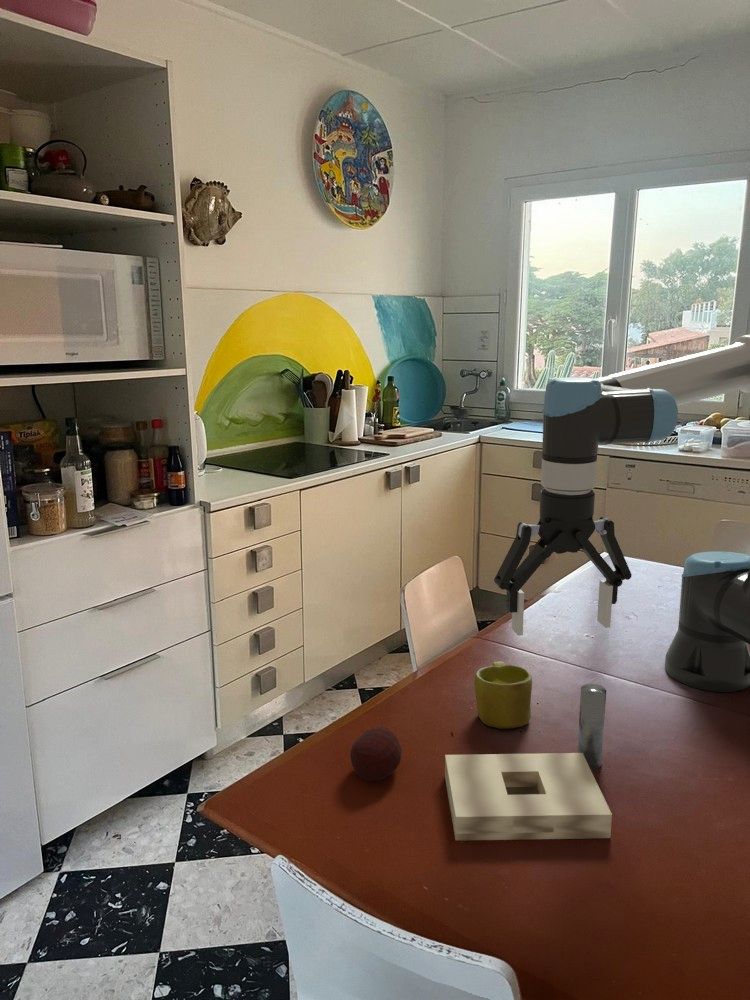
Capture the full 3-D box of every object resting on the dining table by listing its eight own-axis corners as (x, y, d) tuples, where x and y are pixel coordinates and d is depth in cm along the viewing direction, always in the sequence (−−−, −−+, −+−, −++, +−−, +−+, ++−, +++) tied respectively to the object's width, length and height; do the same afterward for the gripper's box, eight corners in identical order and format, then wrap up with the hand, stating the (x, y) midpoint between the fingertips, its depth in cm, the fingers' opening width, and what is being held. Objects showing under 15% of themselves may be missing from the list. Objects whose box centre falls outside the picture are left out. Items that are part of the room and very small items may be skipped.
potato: (341, 785, 111) (340, 747, 109) (366, 748, 120) (365, 712, 118) (389, 795, 108) (388, 757, 107) (410, 757, 117) (411, 720, 116)
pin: (597, 755, 117) (602, 683, 114) (604, 768, 114) (609, 695, 111) (573, 755, 117) (578, 684, 114) (580, 769, 114) (584, 695, 111)
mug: (542, 729, 121) (524, 668, 121) (479, 741, 123) (462, 681, 124) (545, 706, 133) (529, 650, 133) (488, 717, 135) (473, 662, 136)
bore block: (581, 774, 112) (582, 752, 112) (610, 838, 99) (612, 814, 98) (444, 776, 112) (445, 754, 111) (455, 840, 99) (455, 816, 98)
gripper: (636, 478, 114) (626, 611, 119) (474, 487, 110) (472, 624, 115) (663, 489, 107) (651, 630, 112) (491, 499, 103) (488, 645, 108)
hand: (560, 628), depth 114 cm, fingers open, 13 cm apart
